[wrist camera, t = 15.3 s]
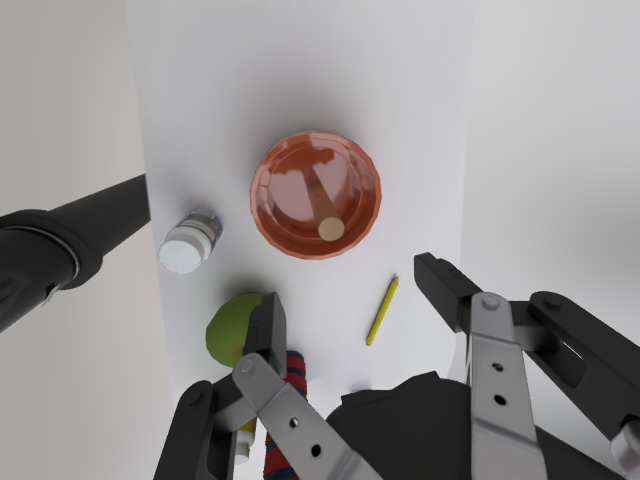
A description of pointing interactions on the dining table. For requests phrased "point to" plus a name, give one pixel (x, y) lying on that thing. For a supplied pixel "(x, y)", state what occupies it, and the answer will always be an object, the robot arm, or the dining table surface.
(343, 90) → the dining table surface
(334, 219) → the stirring stick
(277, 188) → the bowl
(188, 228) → the pill bottle
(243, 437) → the supplement bottle
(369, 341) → the pencil
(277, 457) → the red striped curved tube
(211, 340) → the apple
